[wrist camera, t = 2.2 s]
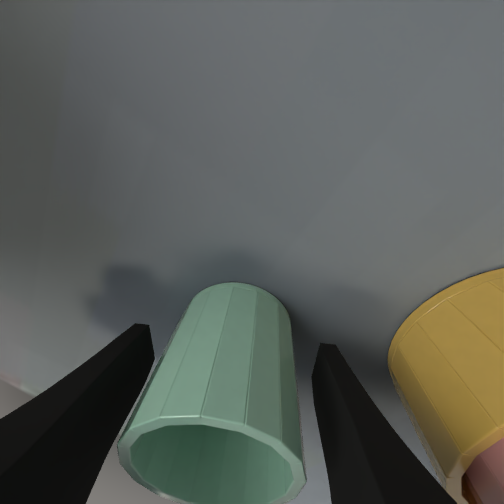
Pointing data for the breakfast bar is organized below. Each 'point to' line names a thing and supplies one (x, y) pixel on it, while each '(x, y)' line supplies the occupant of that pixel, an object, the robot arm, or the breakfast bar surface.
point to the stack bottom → (454, 375)
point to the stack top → (487, 475)
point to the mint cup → (221, 406)
